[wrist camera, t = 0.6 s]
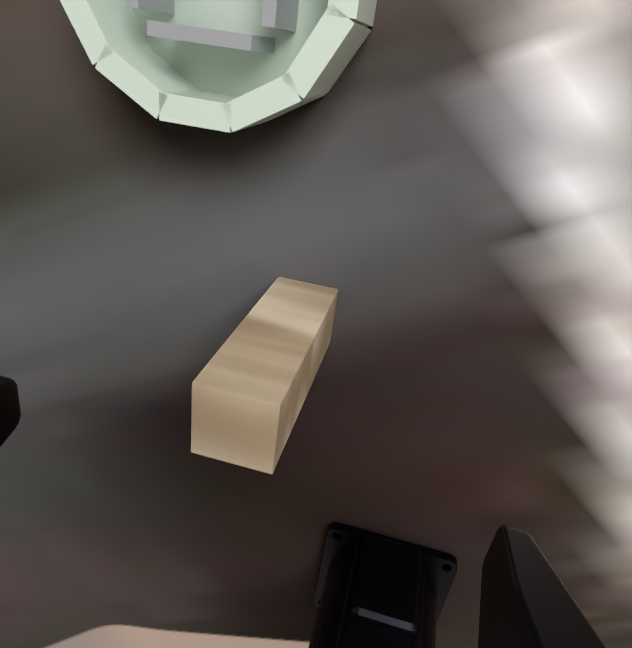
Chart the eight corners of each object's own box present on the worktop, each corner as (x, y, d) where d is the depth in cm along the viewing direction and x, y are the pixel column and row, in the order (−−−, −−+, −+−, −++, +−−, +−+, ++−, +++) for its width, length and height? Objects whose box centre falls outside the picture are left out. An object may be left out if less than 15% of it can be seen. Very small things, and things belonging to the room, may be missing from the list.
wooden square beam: (329, 342, 22) (272, 474, 15) (273, 329, 22) (190, 452, 15) (338, 289, 20) (280, 404, 14) (278, 276, 21) (192, 382, 14)
